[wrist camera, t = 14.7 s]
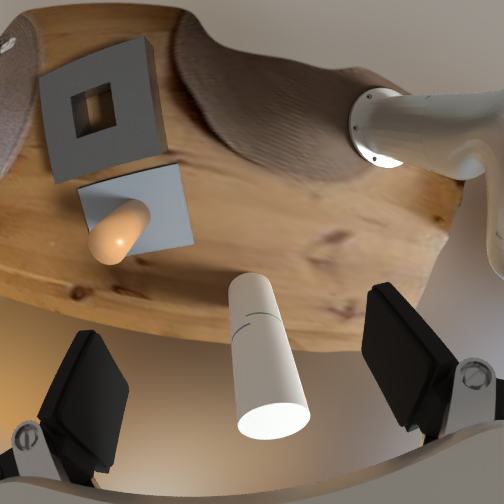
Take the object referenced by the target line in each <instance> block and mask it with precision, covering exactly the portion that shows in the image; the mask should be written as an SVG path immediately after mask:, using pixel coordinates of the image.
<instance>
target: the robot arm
mask: <svg viewBox="0 0 504 504" xmlns="http://www.w3.org/2000/svg"><path fill="white" fill-rule="evenodd" d="M367 96H368V98H367ZM354 127H355V129H354ZM349 133H350V137H351V140H352V142H353V145H354V147H355V148H356V150H357V152H358V153H359V154H360V155H361V156H362V157H363V158H364V159H365V160H367V161H368V162H370V163H371V164H373V165H376V166H379V167H384V168H391V167H396V166H399V165H401V164H402V163H405V164H409V165H412V166H415V167H419V168H422V169H425V170H428V171H431V172H434V173H437V174H440V175H443V176H446V177H449V178H452V179H457V180H467V179H471V178H474V177H476V176H478V175H480V174H482V173H483V172H485V175H486V188H487V254H488V259H489V262H490V265H491V267H492V268H493V270H494V271H495V272H496V273H497V275H498V276H500V277H501V278H502V279H504V89H502V90H495V91H488V92H480V93H460V94H427V95H426V94H425V95H407V96H402V95H401V94H399V93H398V92H396V91H394V90H391V89H387V88H375V89H370V90H368V91H366V92H364V93H363V94H361V95H360V96H359V97H358V98H357V99H356V101H355V102H354V104H353V106H352V108H351V111H350V114H349ZM372 157H373V159H372ZM361 349H362V355H363V357H364V359H365V361H366V363H367V365H368V367H369V368H370V370H371V372H372V374H373V376H374V378H375V380H376V381H377V383H378V385H379V387H380V389H381V391H382V393H383V395H384V396H385V398H386V400H387V402H388V404H389V406H390V408H391V410H392V412H393V414H394V416H395V418H396V419H397V422H398V423H399V425H400V426H401V427H403V426H405V428H406V430H407V432H410V431H413V430H415V429H417V428H420V430H421V432H422V434H423V436H422V439H421V443H420V446H419V448H417V449H415V450H412V451H410V452H408V453H405V454H403V455H400V456H398V457H395V458H393V459H390V460H387V461H385V462H382V463H379V464H376V465H374V466H371V467H368V468H365V469H362V470H359V471H356V472H352V473H349V474H346V475H342V476H339V477H336V478H331V479H328V480H324V481H319V482H315V483H311V484H306V485H302V486H297V487H292V488H286V489H280V490H274V491H268V492H260V493H251V494H241V495H231V496H212V497H211V496H210V497H172V496H153V495H141V494H132V493H123V492H116V491H109V490H103V489H101V488H100V486H99V484H98V483H97V481H96V479H95V478H94V476H93V475H94V470H95V471H96V472H101V473H107V474H108V473H109V469H110V467H111V466H112V465H113V463H114V458H115V453H116V448H117V443H118V438H119V433H120V428H121V424H122V419H123V415H124V411H125V406H126V402H127V398H128V393H129V386H128V383H127V382H126V380H125V378H124V377H123V375H122V373H121V372H120V370H119V368H118V367H117V365H116V363H115V361H114V360H113V358H112V356H111V354H110V352H109V351H108V349H107V347H106V345H105V343H104V341H103V339H102V337H101V336H100V335H99V334H97V333H96V332H95V331H94V330H85V331H79V332H78V333H77V334H76V337H75V338H74V340H73V342H72V344H71V346H70V348H69V349H68V351H67V353H66V355H65V357H64V359H63V361H62V363H61V365H60V367H59V369H58V371H57V374H56V375H55V378H54V380H53V382H52V384H51V386H50V388H49V390H48V393H47V395H46V397H45V399H44V401H43V404H42V406H41V408H40V411H39V413H38V415H37V417H38V418H39V420H41V422H40V424H38V423H37V422H35V421H32V420H31V421H25V422H22V423H21V424H20V425H18V426H17V428H16V429H15V430H14V432H13V435H12V439H11V440H12V448H11V449H9V450H7V451H6V452H4V453H3V454H1V455H0V504H504V380H502V379H498V378H496V375H495V371H494V370H493V368H492V366H491V365H490V364H489V363H487V362H486V361H484V360H482V359H479V358H467V359H465V360H463V361H461V362H460V363H459V362H458V361H457V359H456V358H455V357H454V355H453V354H452V353H451V352H450V350H449V349H448V348H447V347H446V345H445V344H444V343H443V342H442V341H441V339H440V338H439V337H438V336H437V335H436V333H435V332H434V331H433V330H432V329H431V328H430V326H429V325H428V324H427V323H426V322H425V321H424V320H423V318H422V317H421V316H420V315H419V314H418V313H417V312H416V310H415V309H414V308H413V307H412V306H411V305H410V304H409V303H408V302H407V300H406V299H405V298H404V297H403V296H402V295H401V294H400V293H399V292H398V291H397V290H396V288H395V287H394V286H393V285H392V284H391V283H389V282H386V283H381V284H377V285H374V286H373V287H372V290H370V291H369V292H368V295H367V306H366V315H365V324H364V333H363V340H362V348H361Z"/></svg>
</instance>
